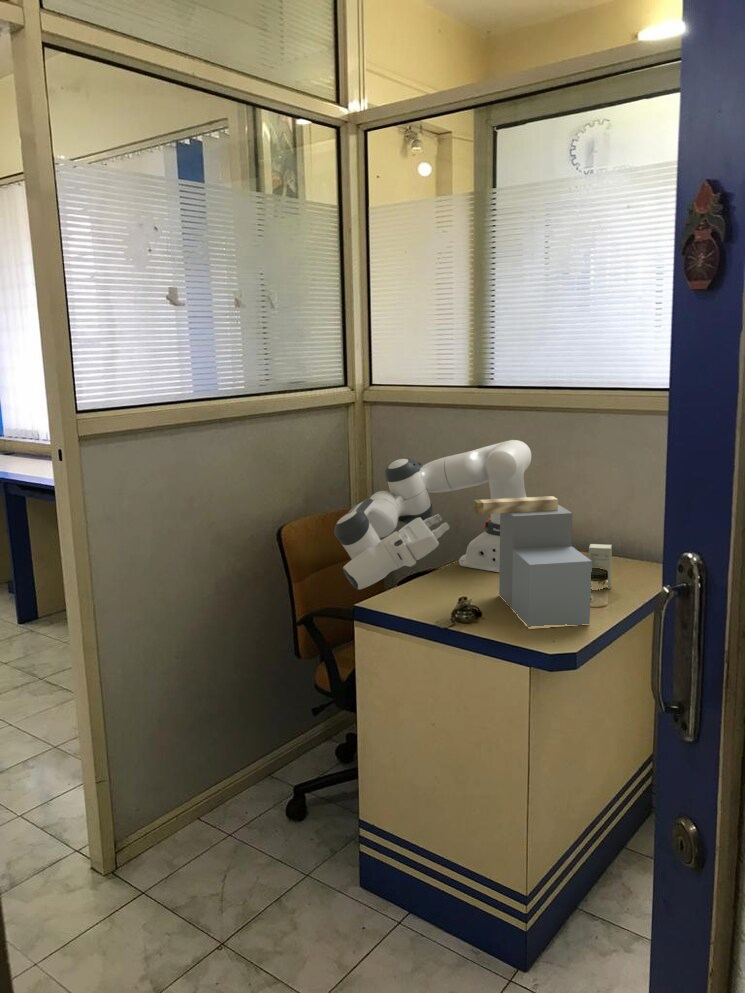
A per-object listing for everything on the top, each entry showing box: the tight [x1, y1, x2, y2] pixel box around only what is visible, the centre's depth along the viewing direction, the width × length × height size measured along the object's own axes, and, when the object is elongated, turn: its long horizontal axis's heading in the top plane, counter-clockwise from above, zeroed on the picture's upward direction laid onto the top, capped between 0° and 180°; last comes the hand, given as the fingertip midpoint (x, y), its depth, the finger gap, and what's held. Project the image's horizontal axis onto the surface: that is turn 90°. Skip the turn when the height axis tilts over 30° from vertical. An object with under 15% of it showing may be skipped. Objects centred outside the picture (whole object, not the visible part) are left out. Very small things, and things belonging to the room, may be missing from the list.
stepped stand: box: [498, 504, 592, 627], centre depth 217 cm, size 16×26×26 cm, turn 8°
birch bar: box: [473, 495, 559, 515], centre depth 220 cm, size 22×4×3 cm, turn 98°
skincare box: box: [588, 543, 613, 590], centre depth 237 cm, size 6×4×12 cm
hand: (444, 520), depth 218 cm, fingers open, 8 cm apart
